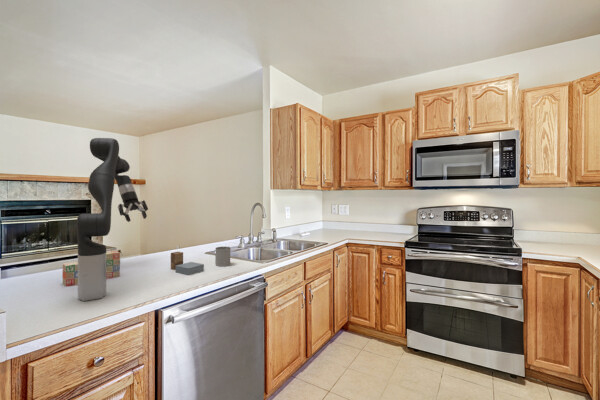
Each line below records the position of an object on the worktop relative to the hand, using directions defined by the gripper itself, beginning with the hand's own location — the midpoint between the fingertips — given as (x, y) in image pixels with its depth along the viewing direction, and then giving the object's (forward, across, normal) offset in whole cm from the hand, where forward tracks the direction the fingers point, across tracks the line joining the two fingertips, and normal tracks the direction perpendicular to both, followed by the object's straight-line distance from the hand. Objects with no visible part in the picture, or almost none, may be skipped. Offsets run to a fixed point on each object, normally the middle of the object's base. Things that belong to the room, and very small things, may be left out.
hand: (137, 219), depth 162 cm
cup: (+42, +29, -18) cm, 54 cm away
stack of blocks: (+25, -28, +1) cm, 37 cm away
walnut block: (+34, +7, -8) cm, 36 cm away
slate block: (+39, +8, -17) cm, 43 cm away
